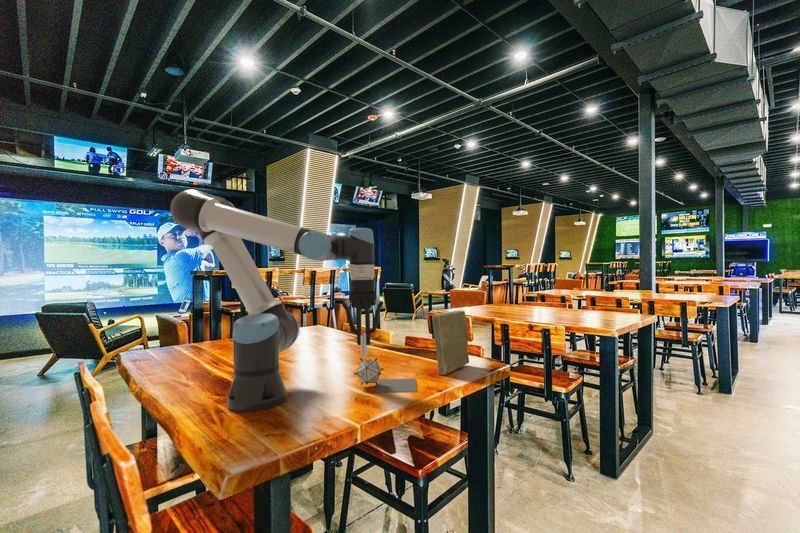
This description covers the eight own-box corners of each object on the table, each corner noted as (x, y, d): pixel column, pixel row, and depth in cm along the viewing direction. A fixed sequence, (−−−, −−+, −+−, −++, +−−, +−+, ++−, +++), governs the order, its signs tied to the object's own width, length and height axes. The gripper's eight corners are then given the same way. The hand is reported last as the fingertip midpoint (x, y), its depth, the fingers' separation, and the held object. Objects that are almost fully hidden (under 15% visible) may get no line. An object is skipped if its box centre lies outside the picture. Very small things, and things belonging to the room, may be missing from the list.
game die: (375, 387, 116) (391, 361, 115) (370, 398, 108) (387, 369, 107) (351, 373, 117) (367, 346, 116) (345, 382, 108) (361, 353, 108)
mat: (375, 393, 106) (375, 392, 106) (378, 380, 118) (378, 379, 118) (416, 392, 106) (416, 391, 106) (415, 379, 118) (415, 378, 118)
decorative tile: (447, 376, 121) (446, 316, 121) (432, 373, 124) (431, 315, 124) (472, 364, 136) (471, 310, 136) (458, 361, 139) (457, 309, 139)
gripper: (338, 279, 108) (340, 359, 108) (383, 278, 108) (385, 358, 108) (342, 278, 116) (344, 353, 116) (384, 277, 116) (386, 352, 116)
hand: (364, 355), depth 112 cm, fingers closed
